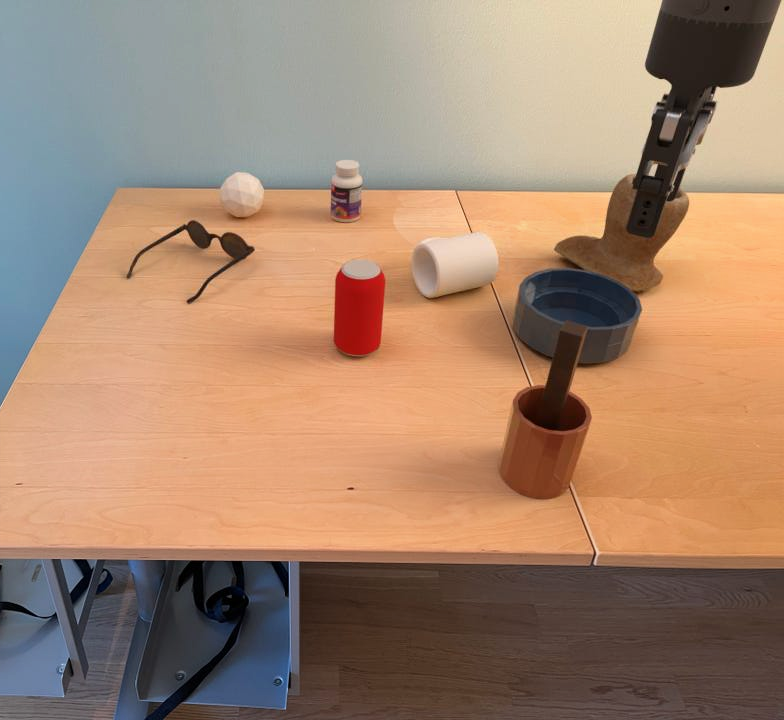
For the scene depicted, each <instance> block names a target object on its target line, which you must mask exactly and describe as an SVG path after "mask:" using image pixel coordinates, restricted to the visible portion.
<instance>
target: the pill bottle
mask: <svg viewBox="0 0 784 720" xmlns="http://www.w3.org/2000/svg"><path fill="white" fill-rule="evenodd" d="M334 171H335V174H333V175H332V177H331V182H330V217H331V218H332V220H334V221H336V222H341V223H353V222H356V221H358V220H359V219H360V218H361V214H362V200H363V199H362V198H363V197H362V196H363V195H362V194H363V177H362V176H361V174H359V173H360V164H359V162H358V161H356V160H353V159H341V160H338V161H336V163H335V170H334Z"/></svg>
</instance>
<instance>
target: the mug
mask: <svg viewBox="0 0 784 720" xmlns="http://www.w3.org/2000/svg"><path fill="white" fill-rule="evenodd" d="M410 264H411V273H412V278H413V282H414V284H415V286H416V288H417V290H418V291H419V292H420V294H421V295H423V297H425V298H428V299H433V298H438V297H442V296H448V295H451V294H455V293H459V292H464V291H468V290H472V289H476V288H481V287H486V286H489V285H491V284H492V283H493V282H494V281H495V279H497V278H496V277H497V276H498V273H499V255H498V250H497V248H496V246H495V243H494V241H493V240H492V238H491V237H490V236H489V235H488V234H486V233H485V232H482V231H476V232H471V233H466V234H461V235H456V236H452V237H446V238H445V237H437V236H436V237H435V236H434V237H427V238H424V239H423V240H421V241H419V242H418V243H417V244H416V245H415V246H414V248H413V252H412V255H411V263H410Z"/></svg>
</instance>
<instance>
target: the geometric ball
mask: <svg viewBox="0 0 784 720" xmlns="http://www.w3.org/2000/svg"><path fill="white" fill-rule="evenodd" d="M219 190H220V191H219V201H220V203H221V204H222V207H223V209H224V210H225V212H227V213H229V214H230V215H232V216H233V217H235V218H249V217H250V216H252V215H254V214H256V213H258V212H259V210H260V208H261V207H262V205H263V203H264V202H265V189H264V187H263V185H262V182H261V181H260V179H259V178H257V177H256V176H254V175H252V174H251V173H249V172H242V171H241V172H239V171H236V172H234V173H233V174H231V175H230V176H229V177H227V178H225V180H224V182H223V183H222V185H221V186H220V188H219Z"/></svg>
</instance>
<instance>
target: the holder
mask: <svg viewBox="0 0 784 720" xmlns="http://www.w3.org/2000/svg"><path fill="white" fill-rule="evenodd" d="M545 386H546V384H545V385H544V384H537V385H531V386H527V387H524V388H523V389H521V390H519V391H517V393H516V394H515V396H514V398H513V399H512V401H511V402H512V403H511V407H510V411H509V416H508V419H507V424H506V429H505V433H504V437H503V442H502V446H501V450H500V455H499V459H498V473H499V475H500V477H501V479H502V480H503V482H504V483H505V485H507V486H508V487H509V488H511V489H512V490H513V491H515V492H517V493H518V494H521V495H523V496H524V497H528V498H532V499H538V500H547V499H553V498H558V497H560V496H562V495H563V494H564V493H566V492H567V490H568V489H569V488H570V485H571V482H572V480H573V477H574V476H575V475H574V474H575V471H576V468H577V466H578V462H579V459H580V456H581V453H582V450H583V447H584V444H585V441H586V438H587V435H588V432H589V428H590V426H591V423H592V419H593V417H592V413H591V409H590V407H589V405H587V404H588V403H586V402H585V401H584V399H582V398H581V397H580V396H578V395H576V394H575V393H573V392H572V391H571V390H570V391H569V394H568V397H567V401H566V404H565V408H564V411H563V415H562V418H561V421H560V425H559V428H558V431H554V430H548V429H545V428H542V427H539V426H537V425H535V423H536V420H537V416H538V412H539V408H540V405H541V401H542V397H543V393H544V389H545Z"/></svg>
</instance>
